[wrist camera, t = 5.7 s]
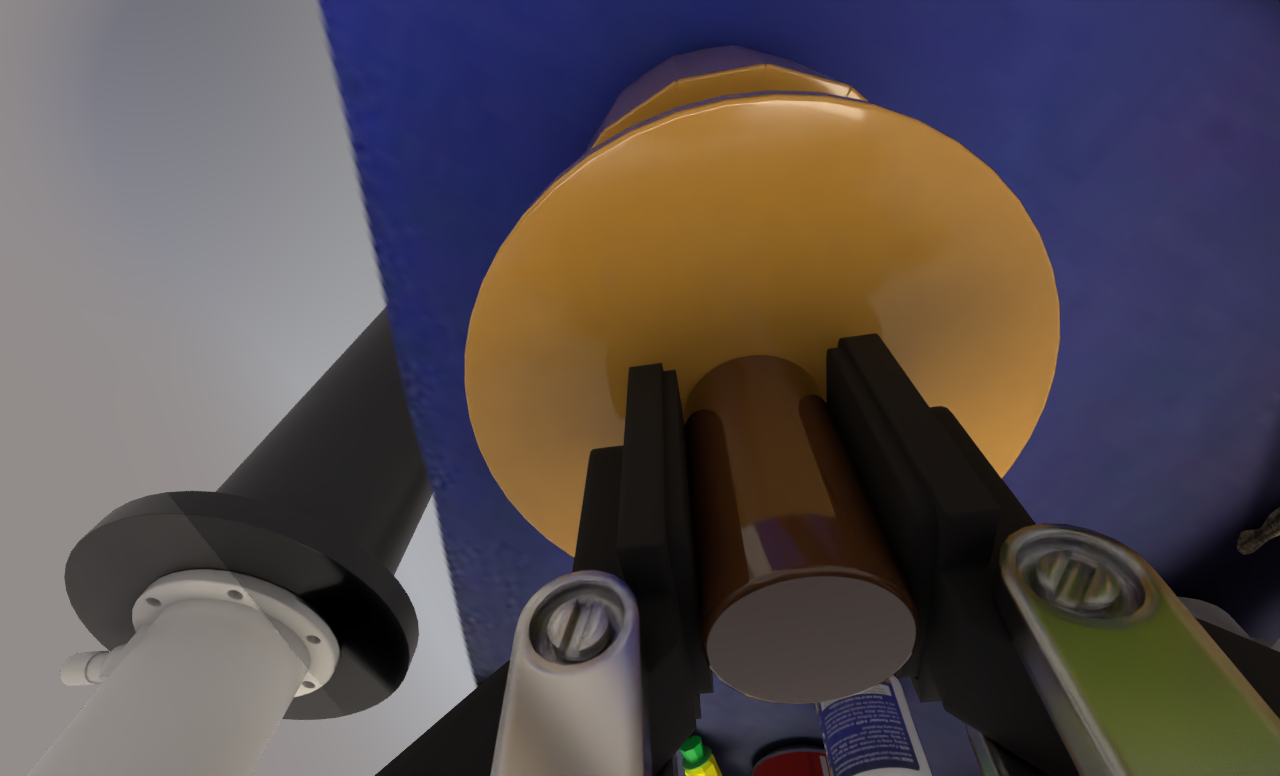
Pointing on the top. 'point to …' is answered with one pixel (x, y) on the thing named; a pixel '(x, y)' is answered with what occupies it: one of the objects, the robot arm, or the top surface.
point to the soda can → (794, 762)
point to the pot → (711, 84)
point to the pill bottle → (872, 734)
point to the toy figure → (698, 758)
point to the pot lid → (763, 352)
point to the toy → (1259, 534)
